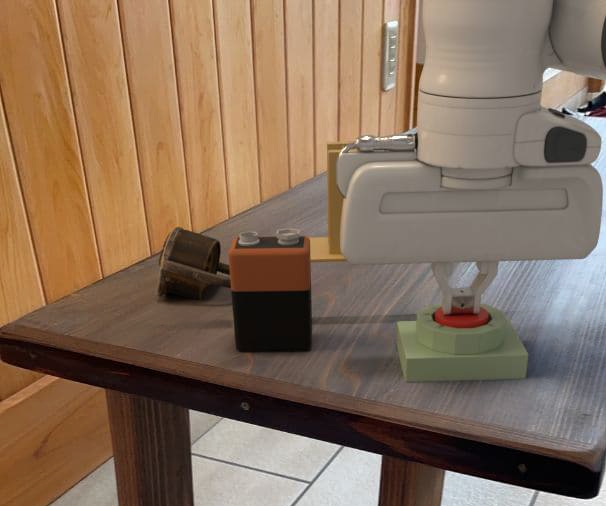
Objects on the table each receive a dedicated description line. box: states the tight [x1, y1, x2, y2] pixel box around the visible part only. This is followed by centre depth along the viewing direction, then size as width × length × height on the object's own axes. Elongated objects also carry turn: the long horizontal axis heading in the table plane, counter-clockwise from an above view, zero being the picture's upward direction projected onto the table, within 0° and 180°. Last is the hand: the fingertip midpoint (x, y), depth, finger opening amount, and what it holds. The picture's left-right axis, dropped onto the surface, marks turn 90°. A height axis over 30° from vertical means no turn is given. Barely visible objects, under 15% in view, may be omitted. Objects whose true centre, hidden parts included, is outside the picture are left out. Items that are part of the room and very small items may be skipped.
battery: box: [228, 227, 313, 353], centre depth 75 cm, size 4×7×10 cm, turn 88°
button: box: [435, 307, 488, 329], centre depth 72 cm, size 4×4×2 cm
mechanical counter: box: [154, 226, 231, 301], centre depth 85 cm, size 7×13×10 cm
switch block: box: [395, 301, 530, 383], centre depth 73 cm, size 10×8×4 cm
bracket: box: [308, 140, 357, 263], centre depth 94 cm, size 10×8×12 cm
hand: (460, 312), depth 71 cm, fingers closed, pressing on button
